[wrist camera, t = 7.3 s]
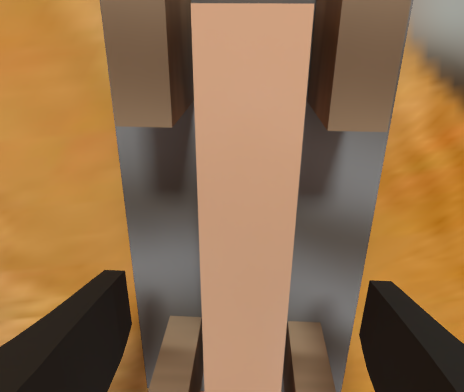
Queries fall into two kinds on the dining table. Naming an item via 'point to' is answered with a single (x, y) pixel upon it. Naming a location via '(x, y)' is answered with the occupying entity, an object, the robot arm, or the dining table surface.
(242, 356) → the clay strip
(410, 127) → the dining table surface
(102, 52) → the dining table surface
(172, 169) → the grey panel
